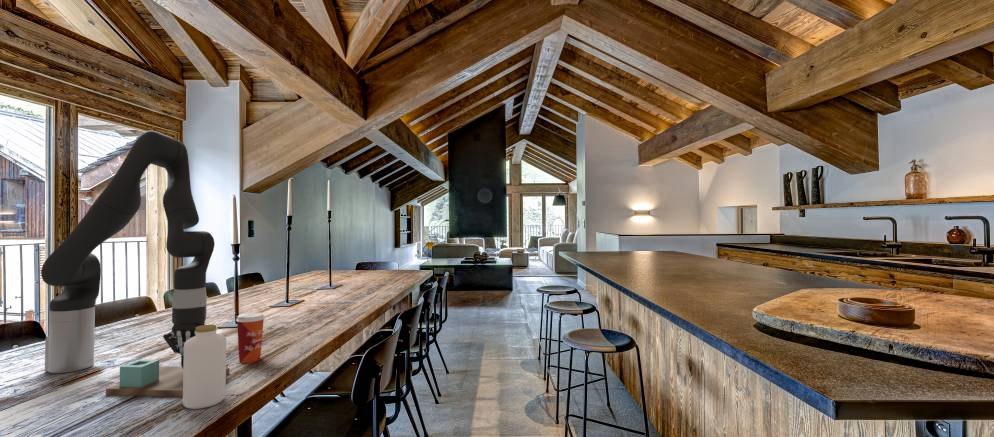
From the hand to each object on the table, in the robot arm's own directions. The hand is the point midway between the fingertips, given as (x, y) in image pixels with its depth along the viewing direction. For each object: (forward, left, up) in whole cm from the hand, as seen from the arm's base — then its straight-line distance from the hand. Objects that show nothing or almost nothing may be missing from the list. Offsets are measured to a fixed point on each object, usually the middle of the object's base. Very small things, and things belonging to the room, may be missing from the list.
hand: (188, 368), depth 113 cm
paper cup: (+7, +16, -3) cm, 17 cm away
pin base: (-2, -3, -3) cm, 5 cm away
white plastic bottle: (+15, -14, -3) cm, 21 cm away
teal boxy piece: (-7, -7, -1) cm, 10 cm away
